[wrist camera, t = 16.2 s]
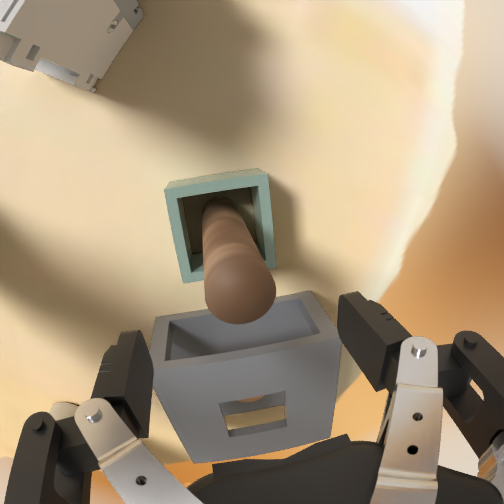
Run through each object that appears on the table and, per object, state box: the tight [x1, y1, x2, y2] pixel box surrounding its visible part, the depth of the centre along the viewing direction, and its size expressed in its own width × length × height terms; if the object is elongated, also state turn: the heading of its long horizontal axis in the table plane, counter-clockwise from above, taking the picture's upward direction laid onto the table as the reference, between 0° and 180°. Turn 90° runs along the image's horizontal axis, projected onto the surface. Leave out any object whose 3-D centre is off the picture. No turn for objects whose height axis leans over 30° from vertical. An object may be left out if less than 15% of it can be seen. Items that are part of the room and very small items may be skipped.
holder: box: [164, 168, 277, 283], centre depth 24 cm, size 8×8×4 cm
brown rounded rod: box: [202, 198, 276, 324], centre depth 20 cm, size 3×3×14 cm
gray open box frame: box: [149, 291, 342, 463], centre depth 29 cm, size 16×16×8 cm
